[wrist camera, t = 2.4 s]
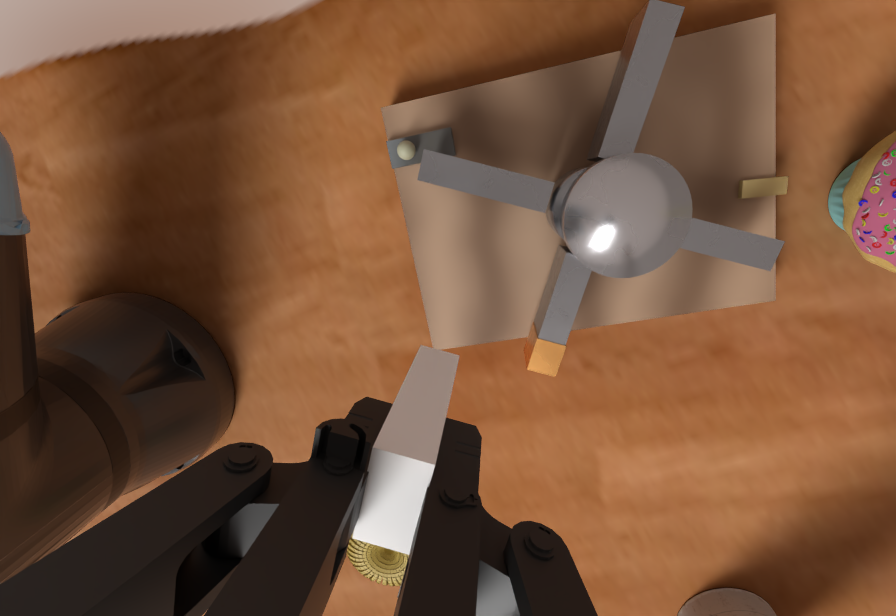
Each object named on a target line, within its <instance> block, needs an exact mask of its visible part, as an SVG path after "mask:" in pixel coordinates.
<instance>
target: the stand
mask: <svg viewBox="0 0 896 616" xmlns="http://www.w3.org/2000/svg"><path fill="white" fill-rule="evenodd" d="M620 54H621V51H616V52H612V53H608V54H604V55H600V56H595V57H591V58H587V59H583V60H579V61H575V62H570V63H566V64H562V65H558V66H554V67H549V68H545V69H541V70H537V71H533V72H529V73H524V74H520V75H516V76H512V77H508V78H503V79H499V80H495V81H491V82H487V83H483V84H478V85H474V86H470V87H466V88H462V89H457V90H453V91H449V92H445V93H441V94H436V95H432V96H428V97H424V98H420V99H416V100H411V101H407V102H403V103H399V104H395V105H390V106H386V107H382V108H381V111H382V116H383V120H384V125H385V130H386V134H387V139H388V141H386V142H387V147H388V151H389V156H390V161H391V165H392V169H394V171H395V175H396V180H397V185H398V189H399V194H400V198H401V203H402V208H403V212H404V217H405V221H406V226H407V231H408V235H409V240H410V244H411V249H412V254H413V258H414V263H415V267H416V272H417V276H418V281H419V286H420V290H421V295H422V299H423V304H424V309H425V313H426V318H427V322H428V327H429V332H430V336H431V341H432V345H433V348H434V349H437V350H441V349H448V348H455V347H462V346H469V345H476V344H482V343H489V342H496V341H503V340H510V339H517V338H523V337H528V335H529V332H530V329H531V326H532V323H533V322H534V319H535V316H536V313H537V310H538V307H539V304H540V301H541V298H542V295H543V292H544V288H545V285H546V282H547V279H548V276H549V273H550V270H551V267H552V264H553V261H554V258H555V254H556V251H557V248H558V245H562V246H566V247H567V245H566V243H565V241H564V240H563V239H562V238H561V237H560V236H559V235H558V234H556V233H555V232H554V230H553V229H552V228H551V226H550V225H549V223H548V221H547V217H546V212H545V213H543V212H539V211H535V210H531V209H527V208H523V207H519V206H516V205H512V204H508V203H504V202H500V201H496V200H492V199H488V198H485V197H481V196H477V195H473V194H469V193H465V192H461V191H458V190H454V189H450V188H446V187H442V186H438V185H434V184H430V183H427V182H423V181H419V180H417V178H418V174H419V169H420V164H421V160H422V155H423V150H424V149H426V150H430V151H434V152H438V153H442V154H445V155H449V156H453V157H457V158H461V159H465V160H469V161H473V162H477V163H481V164H485V165H488V166H492V167H496V168H500V169H504V170H508V171H512V172H516V173H520V174H524V175H527V176H531V177H535V178H539V179H543V180H547V181H551V182H556V181H557V179H559V178H560V177H561V176H562V175H564V174H565V173H567V172H569V171H572V170H574V169H579V168H585V167H589V166H591V165H592V164H594V163H596V162H594V161H590V160H586V159H587V156H588V152H589V149H590V146H591V143H592V140H593V137H594V134H595V131H596V128H597V125H598V122H599V118H600V115H601V112H602V109H603V106H604V103H605V100H606V97H607V94H608V91H609V88H610V84H611V81H612V78H613V75H614V72H615V69H616V66H617V63H618V60H619V57H620ZM633 153H644V154H649V155H653V156H656V157H659V158H661V159H663V160H665V161H666V162H668V163H669V164H671V165H672V166H673V167H674V168H675V169H676V170H677V171H678V172H679V173H680V174H681V176H682V177H683V178H684V180H685V182H686V184H687V186H688V188H689V191H690V194H691V199H692V218H695V219H699V220H703V221H707V222H711V223H715V224H719V225H723V226H727V227H730V228H734V229H738V230H742V231H746V232H750V233H754V234H758V235H762V236H766V237H770V238H773V239H776V195H783V194H787V185H788V176H781V177H776V13H775V14H771V15H767V16H763V17H759V18H755V19H750V20H746V21H742V22H738V23H734V24H729V25H725V26H721V27H717V28H713V29H708V30H704V31H700V32H696V33H692V34H688V35H683V36H679V37H675V38H674V39H673V42H672V45H671V48H670V51H669V53H668V56H667V59H666V62H665V65H664V68H663V70H662V73H661V76H660V79H659V82H658V85H657V87H656V90H655V93H654V96H653V99H652V101H651V104H650V107H649V110H648V113H647V116H646V118H645V121H644V124H643V127H642V130H641V133H640V135H639V138H638V141H637V144H636V147H635V150H634V152H633ZM770 301H776V261H775V263H774V265H773V267H772V269H771V271H767V270H763V269H759V268H755V267H751V266H748V265H744V264H740V263H736V262H732V261H728V260H724V259H721V258H717V257H713V256H709V255H705V254H701V253H697V252H693V251H690V250H686V249H682V248H679V249H678V250H677V252H676V253H675V254H674V255H673V256H672V257H671V258H670V259H669V260H668V261H667V262H666V263H664V264H663V265H662V266H660V267H658V268H657V269H655V270H653V271H651V272H649V273H646V274H644V275H640V276H637V277H631V278H612V277H607V276H604V275H601V274H598V273H596V272H594V271H591V274H590V277H589V280H588V283H587V285H586V288H585V291H584V294H583V297H582V300H581V302H580V305H579V308H578V311H577V314H576V317H575V319H574V322H573V325H572V328H571V330H578V329H585V328H592V327H599V326H605V325H612V324H619V323H626V322H633V321H640V320H646V319H653V318H660V317H667V316H674V315H681V314H687V313H694V312H701V311H708V310H715V309H722V308H729V307H735V306H742V305H749V304H756V303H763V302H770Z"/></svg>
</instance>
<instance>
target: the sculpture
mask: <svg viewBox="0 0 896 616" xmlns="http://www.w3.org/2000/svg"><path fill="white" fill-rule="evenodd" d="M353 532H354V530H353ZM352 537H353V533H352V535H351V538H350V540H349V544H348V549H347V555H348V556H349V559H350V561H351V563H352V564H353V566H354V567H355V568H356V569H357V570H358V571H359V572H360V573H361V574H363V575H364V576H365V577H366V578H369V579H370V580H371V581H375V580H376V578H377V576H378V578H377V581H376V582H377V583H380V582H381V580H382V577H383V585H387V584H389V585H390V586H395V585H397V586H401V583H402V579H403V575H404V572H405V568H406V565H407V561H408V558H409V555H408V554H404V553H401V552H397V551H394V550H391V549H387V548H384V547H380V546H377V545H373V544H370V543H367V542H363V541H360V540H356V539H353V538H352ZM363 547H364V548H363ZM383 574H384V575H383Z"/></svg>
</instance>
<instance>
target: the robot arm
mask: <svg viewBox="0 0 896 616" xmlns="http://www.w3.org/2000/svg"><path fill="white" fill-rule="evenodd" d="M29 232H30V222H29V220H28V219H27V217H26V216H25V214H24V213H23V212H22V206H21V199H20V193H19V187H18V181H17V175H16V169H15V163H14V157H13V153H12V151H11V148H10V146H9V144H8V142H7V140H6V139H5V137H4V136H3V135H2V133H1V132H0V616H202V615H203V614H204V613H205V612H206V611H207V612H206V613H205V615H204V616H322V614H323V612H324V609H325V607H326V604H327V602H328V599H329V597H330V594H331V592H332V590H333V587H334V585H335V582H336V580H337V577H338V575H339V572H340V570H341V567H342V565H343V562H344V560H345V557H346V553H347V549H348V544H349V540H350V538H351V535H352V533H353V537H352V538H353V539H356V540H360V541H363V542H367V543H370V544H373V545H377V546H380V547H384V548H387V549H391V550H394V551H397V552H401V553H404V554H408V555H409V558H408V561H407V565H406V568H405V572H404V575H403V579H402V583H401V586H400V590H399V593H398V600H397V604H396V608H395V613H394V616H598V615H597V613H596V611H595V608H594V606H593V604H592V602H591V599H590V597H589V595H588V593H587V590H586V588H585V586H584V584H583V581H582V579H581V577H580V575H579V572H578V570H577V568H576V566H575V563H574V561H573V559H572V557H571V554H570V552H569V550H568V548H567V546H566V545H565V543H564V542H563V540H562V538H561V537H560V536H559V535H557V534H556V533H555V532H554V531H553V530H552V529H550V528H548V527H546V526H545V525H543V524H540V523H537V522H533V521H523V522H519V523H518V524H516V525H514V526H513V528H512V529H511V528H509V527H508V526H506V525H504V524H502V523H501V522H499V521H497V520H496V519H495V518H493V517H492V516H491V515H490V514H489V513H488V512H487V511H486V510H485V509H484V508H483V506H482V503H481V498H480V496H479V495H478V486H479V471H480V455H481V440H482V437H481V435H480V433H479V431H478V429H477V427H476V426H474V425H471V424H467V423H463V422H460V421H456V420H453V419H449V418H446V415H447V410H448V406H449V401H450V397H451V392H452V388H453V383H454V379H455V374H456V370H457V365H458V361H459V355H456V354H452V353H448V352H445V351H441V350H437V349H434V348H430V347H426V346H423V345H421V346H420V348H419V350H418V352H417V355H416V357H415V359H414V361H413V363H412V365H411V367H410V369H409V371H408V374H407V376H406V378H405V380H404V382H403V384H402V386H401V388H400V390H399V393H398V395H397V397H396V399H395V401H394V403H393V404H391V403H387V402H384V401H380V400H377V399H373V398H369V397H365V398H363V399H362V400H360V401H358V402H356V403H355V404H354V405H353V407H352V409H351V410H350V412H349V414H348V415H347V416H346V418H345V419H331V420H328V421H325V422H322V423H321V424H320V425H319V426H318V427H316V431H315V437H314V443H313V448H312V454H311V458H310V459H309V461H306V462H301V463H273V457H272V455H271V453H270V451H269V450H267V449H266V448H265V447H263V446H261V445H258V444H254V443H243V442H240V443H235V444H229V445H227V446H224V447H222V448H220V449H218V450H216V451H215V452H213V453H211V454H210V455H208V456H207V457H205V458H203V459H202V460H200V461H198V462H197V463H195V464H194V465H192V466H190V467H189V468H187V469H186V470H184V471H182V472H181V473H179V474H177V475H176V476H174V477H173V478H171V479H169V480H168V481H166V482H165V483H163V484H161V485H160V486H158V487H156V488H155V489H153V490H152V491H150V492H148V493H147V494H145V495H144V496H142V497H140V498H139V499H137V500H135V501H134V502H132V503H131V504H129V505H127V506H126V507H124V508H123V509H121V510H119V511H118V512H116V513H114V514H113V515H111V516H110V517H108V518H106V519H105V520H103V521H102V522H100V523H98V524H97V525H95V526H93V527H92V528H90V529H89V530H87V531H85V532H84V533H82V534H81V535H79V536H77V537H76V538H74V539H72V540H71V541H69V542H68V543H66V542H67V541H68V540H69V539H71V538H72V537H73V536H74V535H75V534H76V533H78V532H79V531H80V530H81V529H82V528H83V527H85V526H86V525H87V524H88V523H89V522H90V521H92V520H93V519H94V518H95V517H96V516H97V515H99V514H100V513H101V512H102V511H103V510H105V509H106V508H107V507H108V506H109V505H111V504H112V503H113V502H114V501H115V500H116V499H118V498H119V497H120V496H122V495H125V494H127V493H129V492H131V491H133V490H136V489H138V488H140V487H142V486H144V485H146V484H148V483H150V482H151V481H153V480H155V479H156V478H158V477H160V476H165V475H168V474H172V473H175V472H177V471H179V470H181V469H184V468H186V467H187V466H189V465H191V464H192V463H194V462H195V461H197V460H198V459H199V458H200V457H202V456H203V455H204V454H205V453H206V452H207V451H208V450H209V449H210V448H211V447H212V446H213V445H214V444H215V443H216V442H218V441H219V439H220V438H221V437H222V436H223V434H224V433H225V431H226V429H227V428H228V425H229V423H230V420H231V417H232V414H233V408H234V386H233V381H232V377H231V373H230V370H229V367H228V365H227V362H226V360H225V358H224V356H223V354H222V352H221V350H220V349H219V347H218V346H217V344H216V343H215V341H214V340H213V339H212V337H211V336H210V335H209V334H208V332H207V331H206V330H205V329H204V328H203V327H202V326H201V325H200V324H199V323H198V322H197V321H196V320H194V319H193V318H192V317H191V316H189V315H188V314H187V313H185V312H184V311H182V310H181V309H179V308H177V307H176V306H174V305H172V304H170V303H168V302H166V301H163V300H161V299H158V298H155V297H152V296H148V295H144V294H138V293H114V294H109V295H105V296H101V297H98V298H94V299H91V300H88V301H84V302H81V303H79V304H76V305H74V306H72V307H70V308H68V309H66V310H64V311H63V312H61V313H60V314H59V315H57V316H56V317H55V318H54V319H53V320H51V321H50V322H49V323H48V324H47V325H46V327H44V328H43V329H41V330H40V331H38V332H37V333H35V332H34V322H33V311H32V301H31V290H30V279H29V269H28V258H27V248H26V237H25V234H27V233H29ZM353 530H354V532H353ZM65 543H66V544H65ZM62 545H63V546H62Z"/></svg>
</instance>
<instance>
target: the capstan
mask: <svg viewBox="0 0 896 616" xmlns="http://www.w3.org/2000/svg"><path fill="white" fill-rule="evenodd" d="M684 8H685V7H683V6H679V5H675V4H671V3H667V2H662V1H658V0H649V1H648V2H647V3H646V4H645V6H644V7H643V8H642V9H641V10H640V11H639V13H638V14H637V15H636V16H635V17H634V19H633V20H632V21H631V23H630V26H629V29H628V32H627V35H626V38H625V41H624V44H623V47H622V50H621V54H620V57H619V60H618V63H617V66H616V69H615V72H614V75H613V78H612V81H611V84H610V88H609V91H608V94H607V97H606V100H605V103H604V106H603V109H602V112H601V115H600V118H599V122H598V125H597V128H596V131H595V134H594V137H593V140H592V143H591V146H590V149H589V152H588V156H587V159H586V160H590V161H594V162H596V163H594V164H592V165H591V166H589V167H585V168H579V169H574V170H572V171H569V172H567V173H565V174H564V175H562V176H561V177H560V178H559V179H557V181H556V182H551V181H547V180H543V179H539V178H535V177H531V176H527V175H524V174H520V173H516V172H512V171H508V170H504V169H500V168H496V167H492V166H488V165H485V164H481V163H477V162H473V161H469V160H465V159H461V158H457V157H453V156H449V155H445V154H442V153H438V152H434V151H430V150H426V149H424V150H423V155H422V160H421V164H420V169H419V174H418V178H417V180H419V181H423V182H427V183H430V184H434V185H438V186H442V187H446V188H450V189H454V190H458V191H461V192H465V193H469V194H473V195H477V196H481V197H485V198H488V199H492V200H496V201H500V202H504V203H508V204H512V205H516V206H519V207H523V208H527V209H531V210H535V211H539V212H543V213H545V212H546V217H547V221H548V223H549V225H550V226H551V228H552V229H553V230H554V232H555V233H556V234H558V235H559V236H560V237H561V238H562V239H563V240H564V241H565V243H566V245H567V247H566V246H562V245H558V248H557V251H556V254H555V258H554V261H553V264H552V267H551V270H550V273H549V276H548V279H547V282H546V285H545V288H544V292H543V295H542V298H541V301H540V304H539V307H538V310H537V313H536V316H535V319H534V322H533V323H532V326H531V329H530V332H529V335H528V338H527V341H526V344H525V347H524V354H525V360H526V367H527V370H531V371H535V372H539V373H542V374H546V375H550V376H553V377H555V376H556V374H557V371H558V368H559V365H560V362H561V360H562V357H563V354H564V351H565V348H566V342H567V339H568V336H569V334H570V331H571V328H572V325H573V322H574V319H575V317H576V314H577V311H578V308H579V305H580V302H581V300H582V297H583V294H584V291H585V288H586V285H587V283H588V280H589V277H590V274H591V271H594V272H596V273H598V274H601V275H604V276H607V277H612V278H631V277H637V276H640V275H644V274H646V273H649V272H651V271H653V270H655V269H657V268H658V267H660V266H662V265H663V264H664V263H666V262H667V261H668V260H669V259H670V258H671V257H672V256H673V255H674V254H675V253H676V252H677V250H678V249H679V248H682V249H686V250H690V251H693V252H697V253H701V254H705V255H709V256H713V257H717V258H721V259H724V260H728V261H732V262H736V263H740V264H744V265H748V266H751V267H755V268H759V269H763V270H767V271H771V269H772V267H773V265H774V263H775V261H776V259H777V257H778V255H779V253H780V251H781V248H782V246H783V244H784V242H785V241H781V240H777V239H773V238H770V237H766V236H762V235H758V234H754V233H750V232H746V231H742V230H738V229H734V228H730V227H727V226H723V225H719V224H715V223H711V222H707V221H703V220H699V219H695V218H692V199H691V194H690V191H689V188H688V186H687V184H686V182H685V180H684V178H683V177H682V176H681V174H680V173H679V172H678V171H677V170H676V169H675V168H674V167H673V166H672V165H671V164H669V163H668V162H666V161H665V160H663V159H661V158H659V157H656V156H653V155H649V154H644V153H633V152H634V150H635V147H636V144H637V141H638V138H639V135H640V133H641V130H642V127H643V124H644V121H645V118H646V116H647V113H648V110H649V107H650V104H651V101H652V99H653V96H654V93H655V90H656V87H657V85H658V82H659V79H660V76H661V73H662V70H663V68H664V65H665V62H666V59H667V56H668V53H669V51H670V48H671V45H672V42H673V39H674V36H675V34H676V31H677V28H678V25H679V22H680V19H681V17H682V14H683V11H684Z"/></svg>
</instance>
